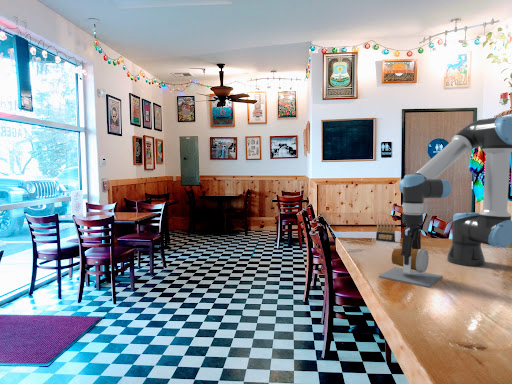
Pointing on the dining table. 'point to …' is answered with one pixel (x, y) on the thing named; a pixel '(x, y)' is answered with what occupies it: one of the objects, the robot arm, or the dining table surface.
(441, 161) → the robot arm
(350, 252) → the dining table surface
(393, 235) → the ammunition clip
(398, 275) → the mat
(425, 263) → the disposable coffee cup
